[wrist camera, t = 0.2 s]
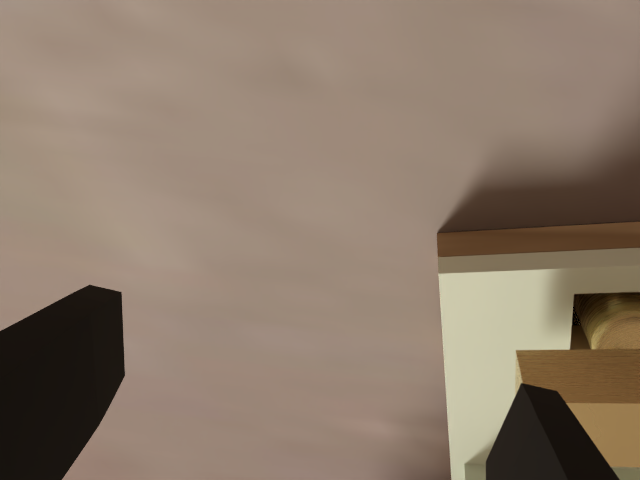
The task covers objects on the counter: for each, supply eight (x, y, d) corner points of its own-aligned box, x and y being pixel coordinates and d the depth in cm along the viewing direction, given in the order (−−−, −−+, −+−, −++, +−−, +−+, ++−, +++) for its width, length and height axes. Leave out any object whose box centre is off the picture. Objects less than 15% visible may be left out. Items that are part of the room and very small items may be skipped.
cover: (741, 549, 22) (791, 645, 19) (455, 533, 24) (459, 616, 21) (842, 238, 15) (939, 309, 12) (437, 257, 18) (440, 321, 15)
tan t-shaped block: (711, 310, 19) (834, 473, 13) (497, 315, 20) (525, 463, 15) (723, 254, 18) (862, 405, 12) (497, 264, 19) (527, 402, 14)
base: (722, 511, 23) (741, 548, 22) (453, 499, 26) (454, 531, 24) (806, 212, 17) (840, 237, 15) (436, 233, 19) (438, 256, 18)
